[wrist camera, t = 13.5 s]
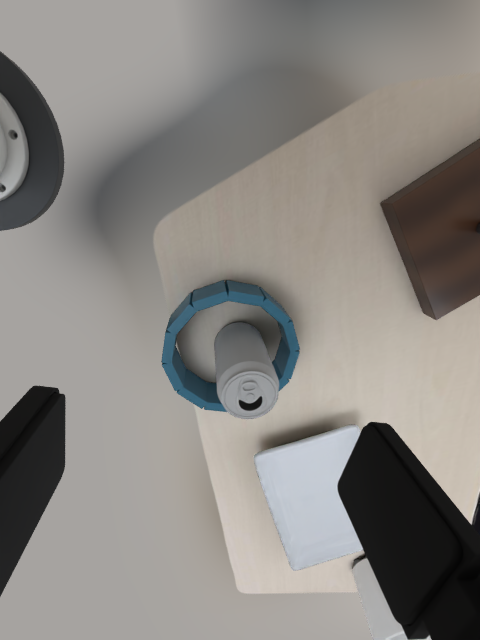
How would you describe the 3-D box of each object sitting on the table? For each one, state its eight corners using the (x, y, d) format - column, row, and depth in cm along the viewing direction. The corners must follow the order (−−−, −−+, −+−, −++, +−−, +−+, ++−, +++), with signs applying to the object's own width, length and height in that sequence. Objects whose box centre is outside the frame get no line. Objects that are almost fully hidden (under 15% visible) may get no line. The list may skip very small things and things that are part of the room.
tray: (350, 409, 46) (361, 425, 43) (368, 529, 59) (377, 548, 56) (247, 439, 47) (251, 457, 43) (287, 552, 59) (292, 572, 56)
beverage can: (218, 365, 41) (222, 428, 30) (210, 323, 38) (212, 374, 27) (263, 358, 41) (284, 417, 30) (259, 316, 39) (280, 363, 28)
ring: (138, 327, 37) (130, 343, 33) (248, 253, 35) (254, 260, 31) (213, 410, 44) (214, 433, 40) (311, 352, 42) (322, 369, 37)
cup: (343, 579, 65) (374, 663, 53) (346, 552, 61) (379, 636, 50) (386, 572, 66) (426, 653, 54) (392, 544, 62) (435, 625, 50)
